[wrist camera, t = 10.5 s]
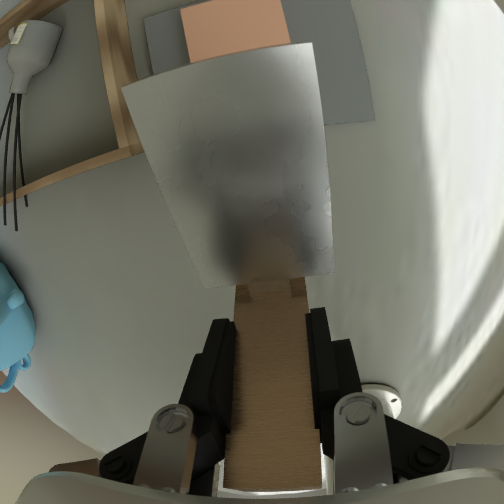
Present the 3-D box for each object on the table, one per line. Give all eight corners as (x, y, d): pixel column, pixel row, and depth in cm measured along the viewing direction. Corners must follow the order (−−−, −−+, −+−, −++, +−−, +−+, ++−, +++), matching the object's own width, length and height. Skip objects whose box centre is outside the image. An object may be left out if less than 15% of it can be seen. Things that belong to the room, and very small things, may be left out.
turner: (332, 312, 14) (352, 484, 8) (228, 324, 15) (216, 490, 9) (308, 41, 6) (587, 259, 1) (129, 83, 7) (-100, 318, 1)
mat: (372, 120, 21) (374, 120, 21) (172, 152, 23) (170, 152, 23) (342, -16, 16) (344, -18, 16) (146, 20, 19) (143, 18, 18)
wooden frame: (152, 148, 23) (131, 156, 20) (-19, 214, 27) (-40, 226, 24) (120, -33, 16) (99, -48, 12) (-43, 85, 20) (-65, 88, 16)
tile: (300, 87, 19) (277, -12, 15) (199, 105, 20) (180, 9, 16) (298, 89, 20) (277, -4, 17) (205, 106, 21) (186, 15, 18)
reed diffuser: (48, 5, 13) (-7, 242, 19) (103, 27, 19) (49, 229, 26) (3, 21, 15) (-38, 206, 21) (49, 34, 22) (8, 199, 28)
